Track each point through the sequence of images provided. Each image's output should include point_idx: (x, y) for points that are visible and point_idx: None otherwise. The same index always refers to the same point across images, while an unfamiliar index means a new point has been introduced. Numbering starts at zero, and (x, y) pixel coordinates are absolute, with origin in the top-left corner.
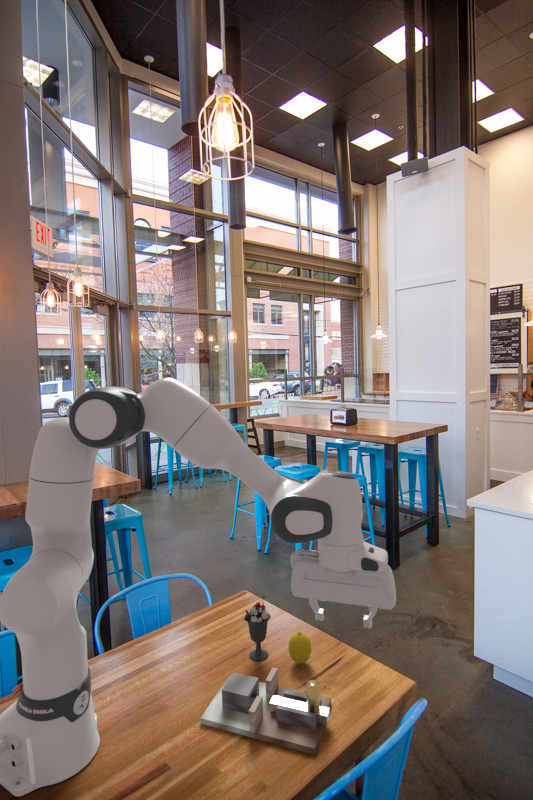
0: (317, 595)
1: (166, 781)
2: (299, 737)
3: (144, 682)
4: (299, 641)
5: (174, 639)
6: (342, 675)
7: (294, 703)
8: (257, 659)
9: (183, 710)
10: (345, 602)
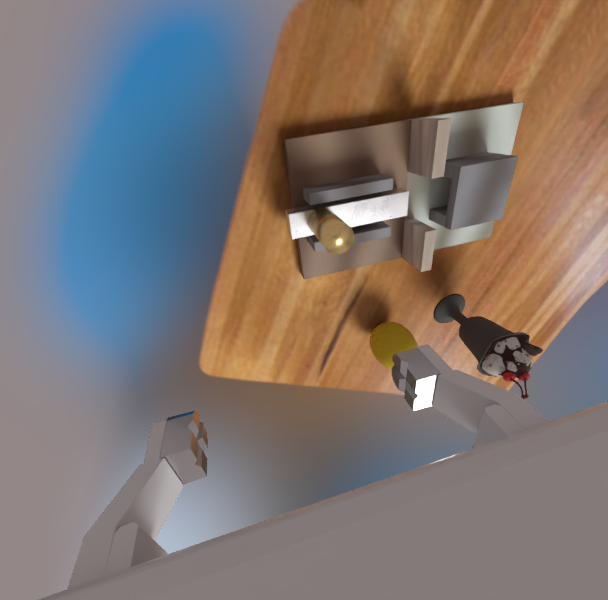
0: (534, 470)
1: None
2: (324, 153)
3: None
4: (401, 349)
5: (590, 270)
6: (305, 339)
7: (361, 215)
8: (449, 299)
9: (550, 119)
10: (305, 519)
